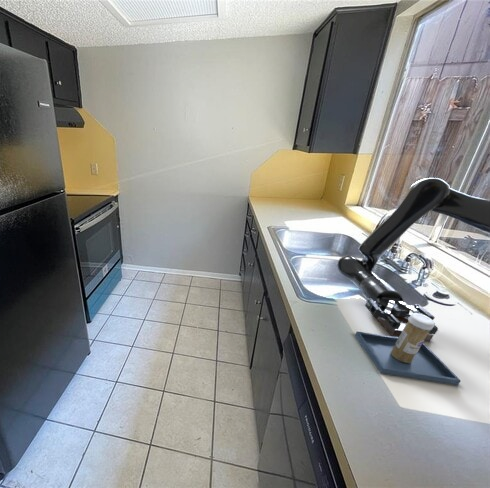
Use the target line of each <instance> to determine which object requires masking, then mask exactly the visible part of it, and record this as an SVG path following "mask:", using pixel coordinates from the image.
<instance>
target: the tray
mask: <svg viewBox="0 0 490 488" xmlns="http://www.w3.org/2000/svg"><path fill="white" fill-rule="evenodd" d="M354 337H355V339H356V340H357V341H358V343H359V344H360V345H361V348H362V349H363V351H365V353H366V354H367V356H368V357H369V359H370V360H371V362H372V363H373V365H374V366H375V367H376V369H377V370H378V372H379V373H380V374H383V375H390V376H396V377H400V378H406V379H407V378H408V379H414V380H419V381H426V382H431V383H437V384H444V385H451V386H459V385H460V383H461V382H462V380H461V379H460V378H459V377H458V376H457V375H456V374H455V373H454V372H453V371H452V370H451V369H450V368H449V367H448V366H447V365H446V364H445V363H444V362H443V361H442V360H441V359H440V358H439V357H438V356H437V355H436V353H434V352H433V351H432V349H430V348H429V347H428V346H427V344H426V343H424V342H423V343H422V345H421V347H420V348H419V350H418V352H417V353H416V354H415V356H414V358H413V359H412V362H411V363H404V362H401V361H399V360H397V359H396V358H394V357H393V356H392V354H391V350H393V348H394V346H395V344H396V342H397V340H398V338H399V337H394V336H392V335H384V334H377V333H371V332H364V331H363V332H362V331H356V332H355V334H354Z"/></svg>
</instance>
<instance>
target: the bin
mask: <svg viewBox="0 0 490 488" xmlns="http://www.w3.org/2000/svg"><path fill="white" fill-rule="evenodd" d="M411 314H412V313H410V312H409V314H408V316H409V317H410V315H411ZM394 317H395V318H396V319H397V320H398V321H399V322H400V324H401V325H400V327H399V328H398V329H394V328H393V327H392V326H390V325H389V324H388V323H387V322H386V321H385V320H383V319H382V318H381V317H378V318H376V319H377V321H378V322H379V323H380V324H381V325H382V327H384V329H385V330H386V331H387V333H388V334H389V335H390V336H392V337H399V336H400V334H401V333H402V331H403V329H404V328H405V326H406V324H407V323H408V319H406V318H404V317H400V316H394ZM434 335H435V334H430V333H428V334H427V336H426V338H425V340H424V342H430V343H431V341H432V340H433V337H434Z"/></svg>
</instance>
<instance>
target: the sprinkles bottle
mask: <svg viewBox="0 0 490 488" xmlns="http://www.w3.org/2000/svg"><path fill="white" fill-rule="evenodd" d="M410 314H411V315H410V317H409V319H408V323H407V324H406V326H405V328H404V329H403V331H402V333H401V334H400V336H399V338H398V340H397V342H396V344H395V346H394V348H393V350H391V354H392V356H393V357H394V358H396V359H397V360H399V361H401V362H404V363H411V362H412V359H413V358H414V356H415V354H416V353H417V352H418V350H419V348H420V347H421V345H422V343H424V342H425V341H424V340H425V338H426V336H427V334H428V333H429V331H430V330H431V329H432V328H433V327H434V325H435V326H436V322H435V321H434V319H433V320H432V319H431V318H429V317H427V316H425V315H422V314H419V313H413V312H411V313H410Z"/></svg>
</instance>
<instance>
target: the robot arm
mask: <svg viewBox="0 0 490 488" xmlns="http://www.w3.org/2000/svg"><path fill="white" fill-rule="evenodd" d="M429 212H434V213H437V214H440V215H444V216H447V217H449V218H452V219H454V220H456V221H459V222H461V223H463V224H465V225H467V226H469V227H472V228H473V229H475V230H478V231H480V232H483V233H484V234H487V235H490V199H487V198H482V197H481V198H480V197H475V196H471V195H468V194H466V193H463V192H460V191H458V190H455V189H453V188H450V185H449V184H448V183H447V182H446V181H445V180H444V179H441V178H438V177H437V178H436V177H435V178H434V177H429V178H428V177H427V178H423V179H420V180H418V181H416V182H415V183H413V184H412V185H411V186H409V188H408V189H407V191H406V193H405V198H404V199H403V200H402V201H401V203H400V204H399V206H398V207H397V208H396V209H395V210H394V211H393V213H392V214H391V215H390V216H389V217H388V218H386V220H385V221H383V222H382V223H381V224H380V225H379V226H378V227H376V229H375V230H373V231H372V232H371V234H369V235H368V236H367V237H366V238H365V240H364V241H362V243H360V245H359V246H358V248H357V249H358V251H359V253H361V255H363V256H362V259H359V258H357V257H355V256H352V255H343V256H341V257H339V259H338V260H337V262H336V267H337V271H339V273H340V274H341V275H342V276H344V277H345V278H346V279H348V280H349V281H350V282H351V283H353V284H354V285H355V287H356V288H357V289H358V290H359V291H360V292H361V293H362V295H363V296H364V297H365V299H366V302H365V304H364V306H365V307H366V309H367V310H368V311H369V312H370V314H371V315H372V316H373V317H374V318H375V319H377V318H378V317H381V318H382V319H383V320H385V321H386V322H387V323H388V324H389V325H390V326H392V327H393V328H394V329H398V328H399V327H400V325H401V324H400V322H399V321H398V320H397V319H396V318H395V317H394V316H400V317H404V318H406V319H409V316H408V314H409V313H410V312H411V313H419V314H422V315H425V316H427V317H429V318H431V319H432V320H433V321H434V319H435V318H436V317H435V315H433V314H432V313H430V312H429V311H428V310H427V309H426V308H424V307H423V306H422V305H420V304H417V303H415V304H413V305H410V304H408V303H406V302H405V301H404V298H403V296H402V294H401V293H400V292H399V291H398V290H397V289H396V288H394V287H393V286H392V285H390V283H388V282H387V281H386V280H384V279H383V278H381V277H380V276H379V275H378V274H377V273H375V272H374V271H373V270H374V269H375V268H376V266H377V264H378V262H379V260H380V258H381V257H383V255H384V254H385V253H386V252H387V251H388V250H390V249H391V247H393V246H394V244H395V243H396V242H397V241H398V240H399V239H400V238H401V237H402V236H403V235H405V233H406V231H407V230H409V229H410V228H411V227H412V226H413V225H414V224H415V223H416V222H418V221H419V220H420V219H421V218H423V217H424V216H426V214H428V213H429ZM438 329H439V328H438V326H437V325H436V324H435V325H434V327H433V328H432V329H431V330H430V331H429V333H430V334H433V335H436V333H437V332H438Z"/></svg>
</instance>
